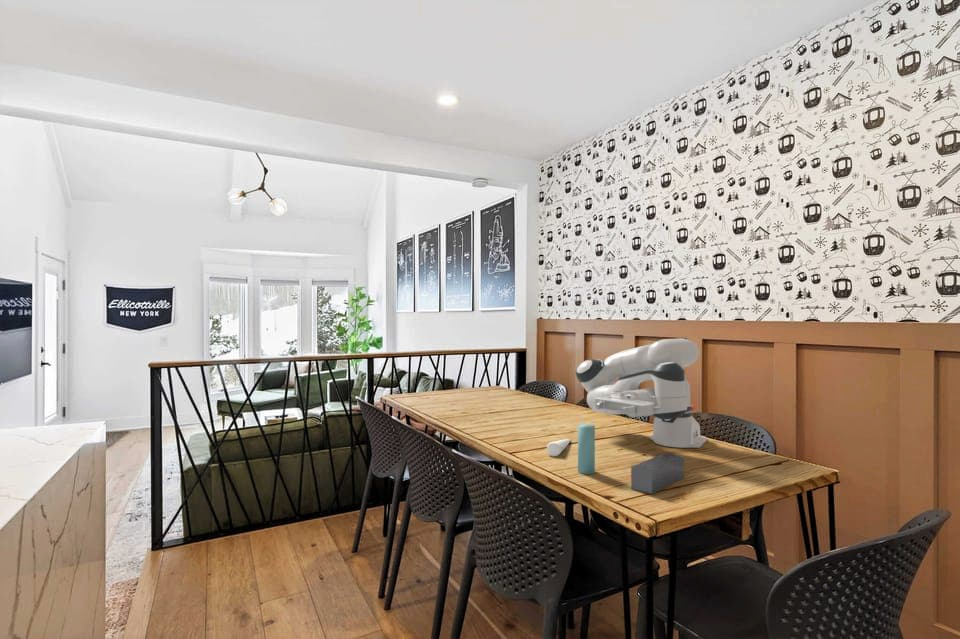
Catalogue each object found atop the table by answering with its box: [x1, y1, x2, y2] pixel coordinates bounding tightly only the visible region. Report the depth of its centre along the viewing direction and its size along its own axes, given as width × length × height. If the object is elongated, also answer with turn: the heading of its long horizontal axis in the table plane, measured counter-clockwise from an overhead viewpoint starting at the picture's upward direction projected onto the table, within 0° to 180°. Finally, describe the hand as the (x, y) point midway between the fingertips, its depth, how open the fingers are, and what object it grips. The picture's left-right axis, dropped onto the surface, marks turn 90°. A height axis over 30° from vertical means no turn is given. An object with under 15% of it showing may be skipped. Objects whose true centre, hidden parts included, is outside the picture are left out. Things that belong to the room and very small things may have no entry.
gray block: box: [630, 452, 685, 495], centre depth 138 cm, size 20×6×6 cm, turn 134°
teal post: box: [577, 423, 596, 475], centre depth 148 cm, size 5×5×14 cm
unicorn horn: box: [546, 438, 571, 457], centre depth 176 cm, size 5×24×5 cm, turn 152°
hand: (609, 408), depth 156 cm, fingers open, 8 cm apart
